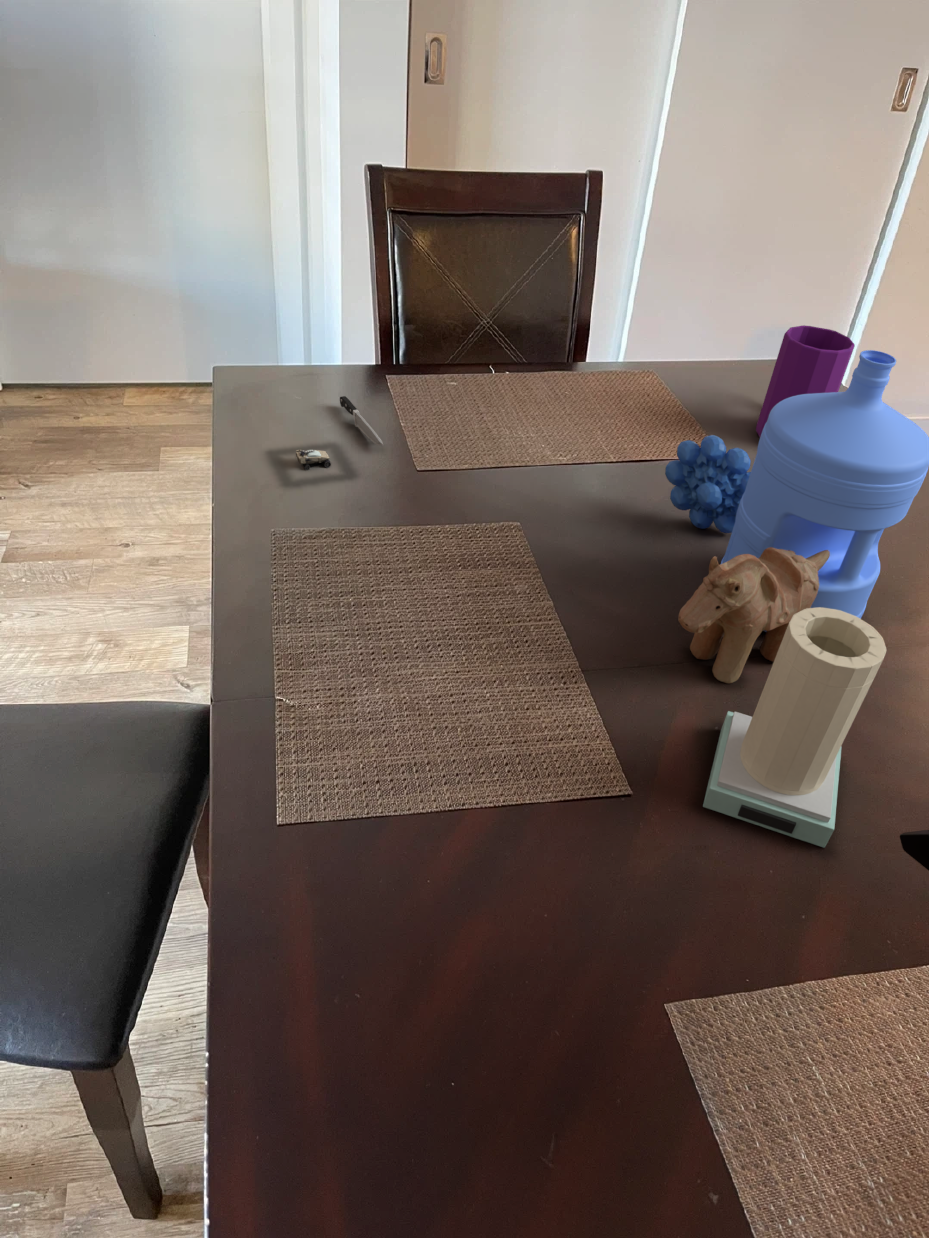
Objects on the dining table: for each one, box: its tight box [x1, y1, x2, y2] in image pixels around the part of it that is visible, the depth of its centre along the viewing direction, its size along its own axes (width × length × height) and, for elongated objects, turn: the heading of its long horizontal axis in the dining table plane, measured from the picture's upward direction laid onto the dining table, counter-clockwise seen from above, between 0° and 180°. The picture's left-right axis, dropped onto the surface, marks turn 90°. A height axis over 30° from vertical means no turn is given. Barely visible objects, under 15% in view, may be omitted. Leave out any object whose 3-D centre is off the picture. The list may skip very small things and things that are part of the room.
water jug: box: [720, 349, 929, 633], centre depth 91 cm, size 16×16×28 cm
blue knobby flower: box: [664, 434, 752, 534], centre depth 106 cm, size 12×7×12 cm, turn 67°
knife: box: [339, 395, 384, 447], centre depth 122 cm, size 15×1×2 cm, turn 27°
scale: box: [702, 710, 842, 849], centre depth 77 cm, size 10×10×3 cm
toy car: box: [295, 449, 332, 471], centre depth 114 cm, size 3×4×2 cm, turn 113°
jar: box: [740, 607, 887, 795], centre depth 72 cm, size 7×7×14 cm
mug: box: [755, 324, 856, 438], centre depth 129 cm, size 9×16×15 cm, turn 165°
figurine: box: [678, 547, 830, 684], centre depth 86 cm, size 7×18×15 cm, turn 122°
